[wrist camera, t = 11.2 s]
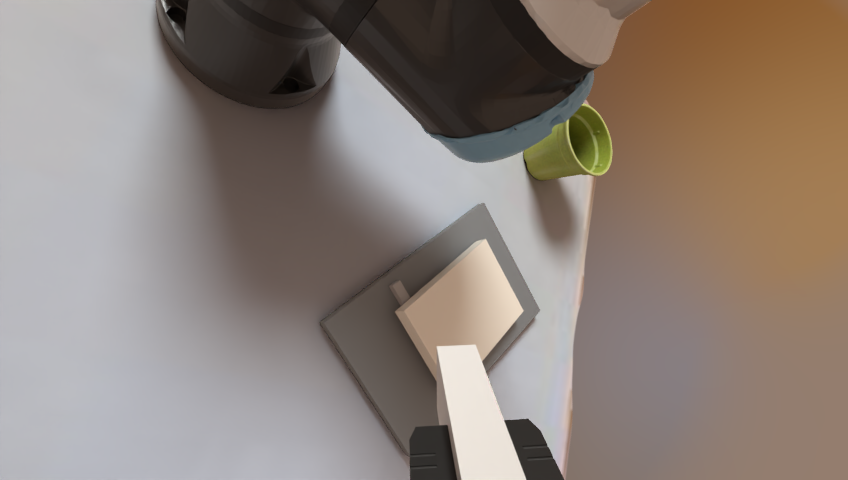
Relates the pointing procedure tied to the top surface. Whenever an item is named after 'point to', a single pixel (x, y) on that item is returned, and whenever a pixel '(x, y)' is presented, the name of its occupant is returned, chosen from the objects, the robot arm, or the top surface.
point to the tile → (462, 306)
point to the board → (388, 339)
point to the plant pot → (572, 148)
